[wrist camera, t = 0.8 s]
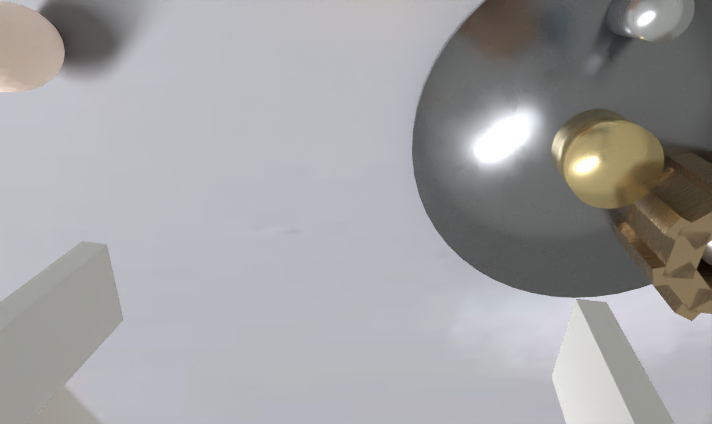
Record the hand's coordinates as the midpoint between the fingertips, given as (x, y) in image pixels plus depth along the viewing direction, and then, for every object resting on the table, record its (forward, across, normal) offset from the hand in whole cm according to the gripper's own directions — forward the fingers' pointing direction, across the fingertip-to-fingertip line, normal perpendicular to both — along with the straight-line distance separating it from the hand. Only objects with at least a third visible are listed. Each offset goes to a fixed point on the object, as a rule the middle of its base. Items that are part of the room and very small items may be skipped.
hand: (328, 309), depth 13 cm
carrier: (+22, +13, 0) cm, 25 cm away
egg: (+22, -25, +3) cm, 33 cm away
